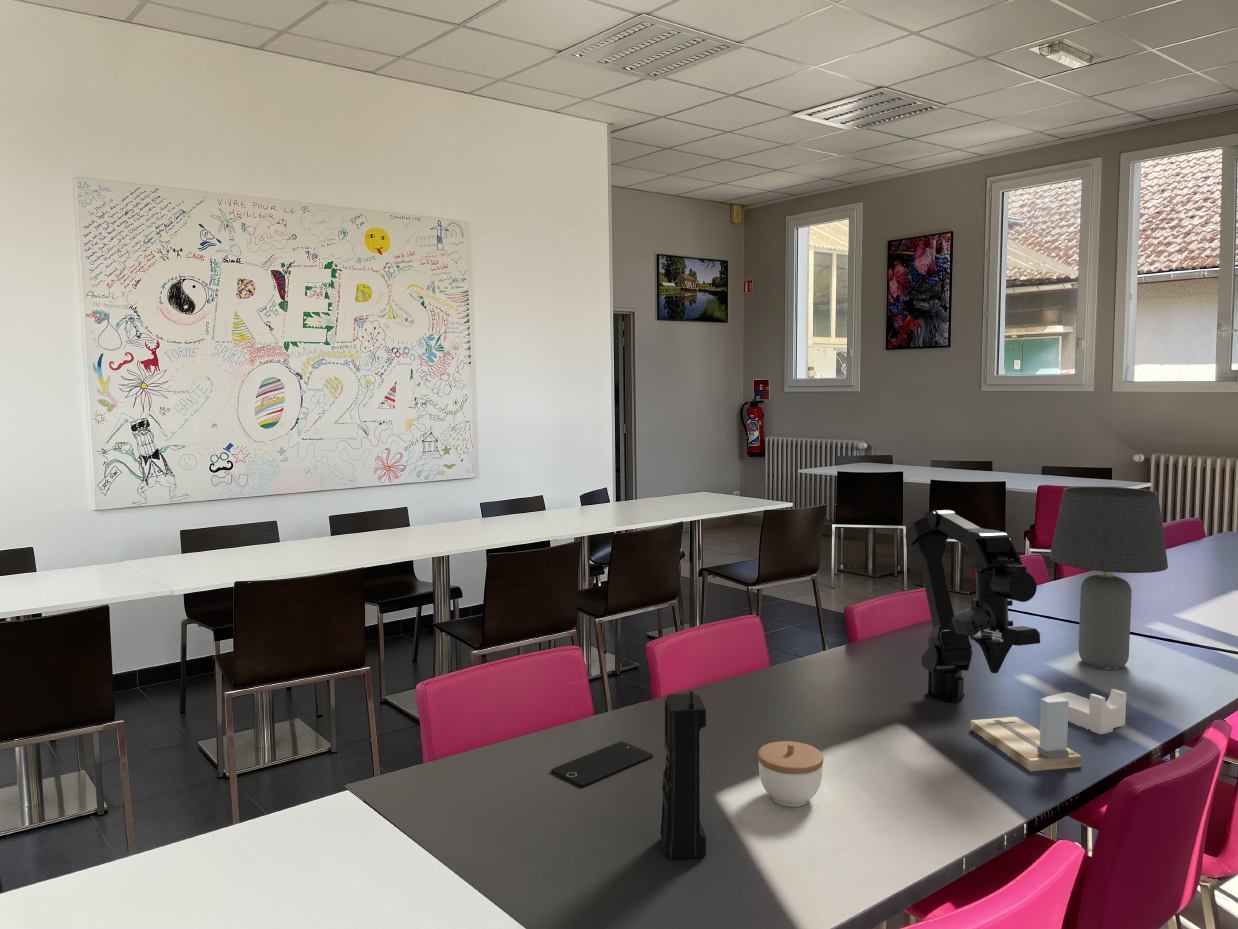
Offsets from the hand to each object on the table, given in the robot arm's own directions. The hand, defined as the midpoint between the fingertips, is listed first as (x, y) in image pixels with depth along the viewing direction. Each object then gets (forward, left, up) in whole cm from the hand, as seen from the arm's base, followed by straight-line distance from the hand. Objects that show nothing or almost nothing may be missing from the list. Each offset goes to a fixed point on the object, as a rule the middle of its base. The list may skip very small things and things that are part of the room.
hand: (994, 673), depth 172 cm
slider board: (+8, -6, -11) cm, 15 cm away
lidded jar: (-12, -53, -12) cm, 56 cm away
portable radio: (-15, -77, -12) cm, 80 cm away
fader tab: (+15, -10, -9) cm, 20 cm away
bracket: (+12, +17, -12) cm, 24 cm away
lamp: (+3, +59, -12) cm, 60 cm away
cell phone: (-44, -66, -12) cm, 81 cm away
